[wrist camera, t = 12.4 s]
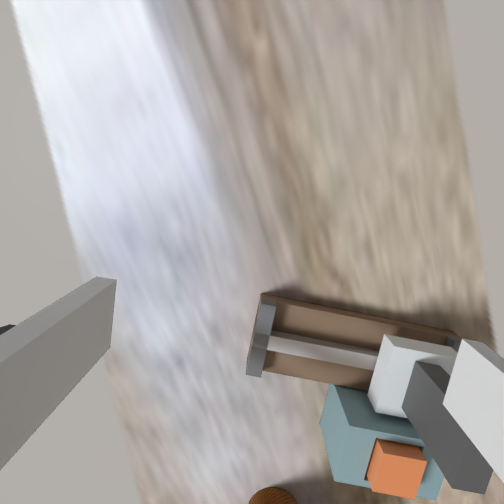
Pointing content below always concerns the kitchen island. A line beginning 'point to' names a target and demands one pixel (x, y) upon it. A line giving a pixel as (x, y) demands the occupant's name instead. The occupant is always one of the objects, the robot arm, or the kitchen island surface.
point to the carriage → (427, 406)
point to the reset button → (395, 468)
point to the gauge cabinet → (367, 438)
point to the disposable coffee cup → (272, 497)
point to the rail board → (339, 333)
